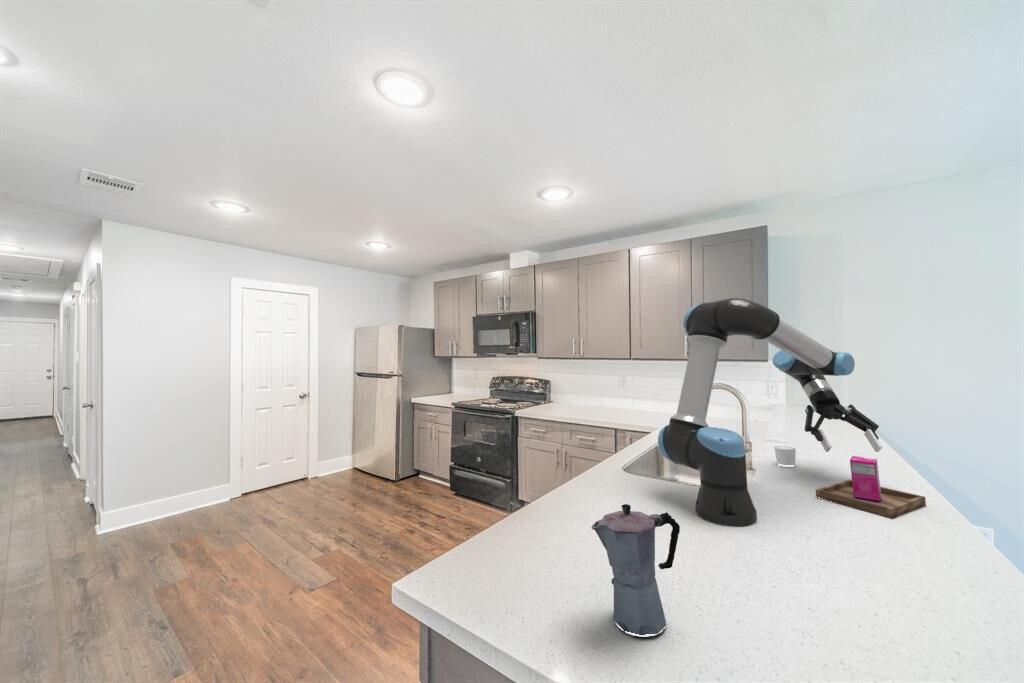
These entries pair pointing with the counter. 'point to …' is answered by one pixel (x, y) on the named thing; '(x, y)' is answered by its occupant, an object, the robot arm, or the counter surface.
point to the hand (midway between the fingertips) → (853, 449)
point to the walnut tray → (888, 507)
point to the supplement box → (865, 478)
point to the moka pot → (636, 567)
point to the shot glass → (785, 455)
